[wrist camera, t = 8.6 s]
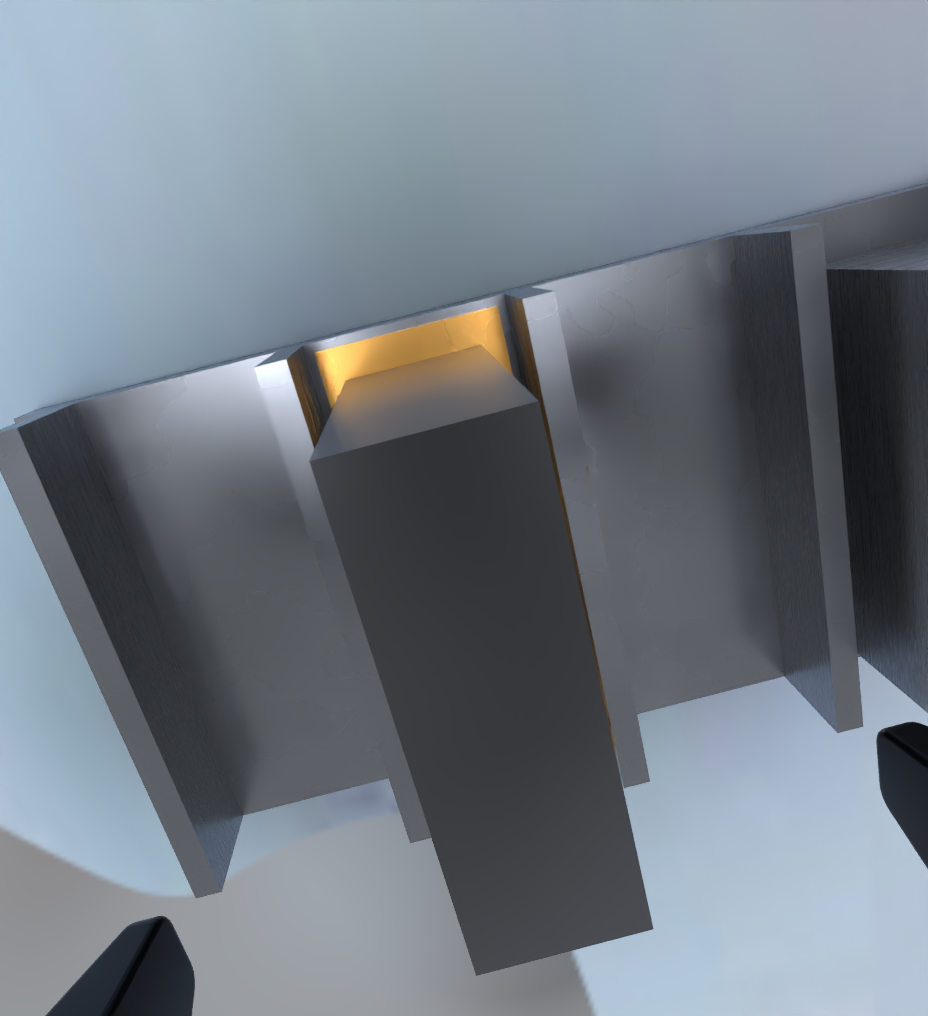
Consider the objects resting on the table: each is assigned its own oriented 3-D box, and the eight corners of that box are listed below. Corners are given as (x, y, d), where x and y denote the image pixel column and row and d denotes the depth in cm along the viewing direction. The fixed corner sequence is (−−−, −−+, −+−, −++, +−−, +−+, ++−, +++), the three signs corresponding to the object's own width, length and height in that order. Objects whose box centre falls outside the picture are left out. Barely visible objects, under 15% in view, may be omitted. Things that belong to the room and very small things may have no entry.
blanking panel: (481, 344, 16) (539, 401, 10) (564, 697, 19) (653, 929, 12) (345, 380, 16) (309, 461, 10) (448, 727, 19) (476, 975, 12)
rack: (984, 168, 17) (1279, 119, 11) (991, 625, 21) (1215, 761, 15) (35, 410, 17) (-149, 484, 11) (213, 824, 21) (143, 1037, 15)
